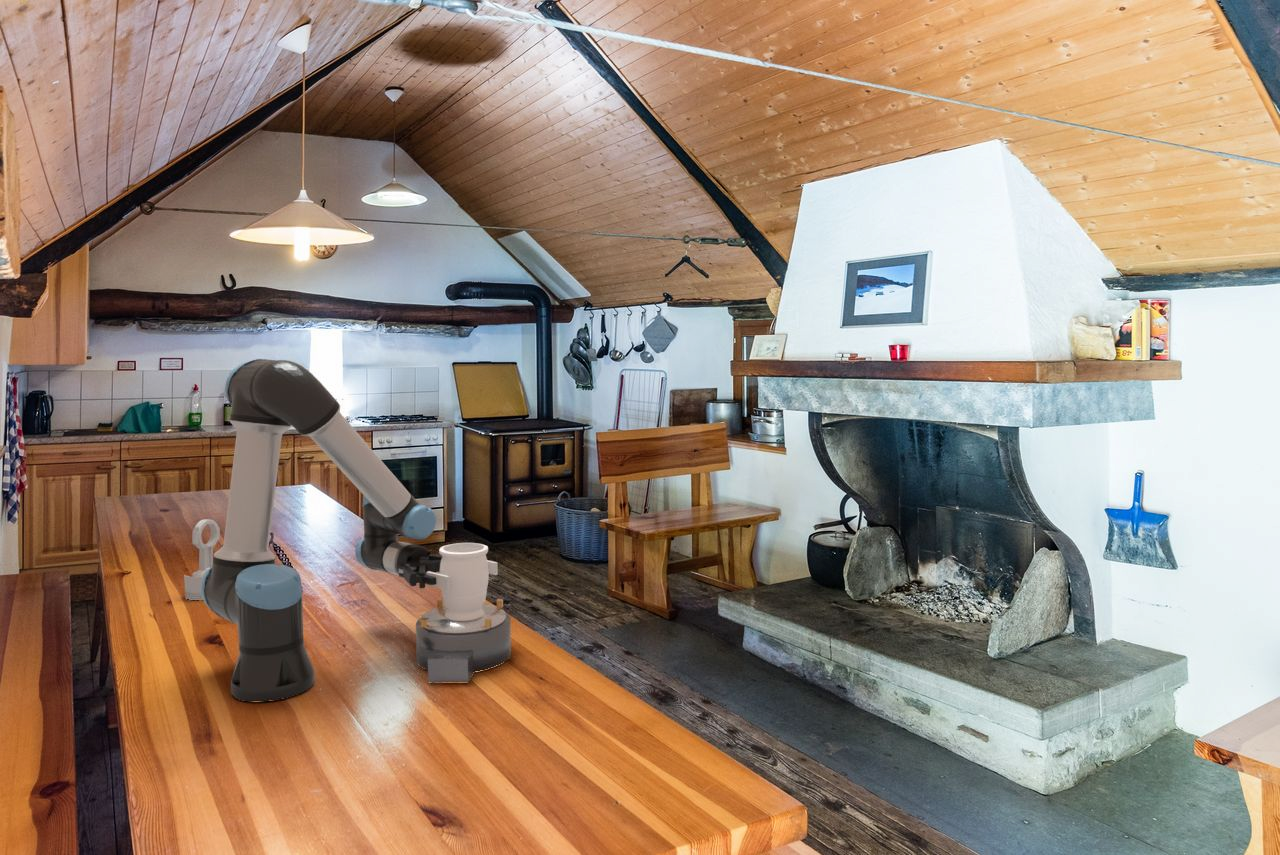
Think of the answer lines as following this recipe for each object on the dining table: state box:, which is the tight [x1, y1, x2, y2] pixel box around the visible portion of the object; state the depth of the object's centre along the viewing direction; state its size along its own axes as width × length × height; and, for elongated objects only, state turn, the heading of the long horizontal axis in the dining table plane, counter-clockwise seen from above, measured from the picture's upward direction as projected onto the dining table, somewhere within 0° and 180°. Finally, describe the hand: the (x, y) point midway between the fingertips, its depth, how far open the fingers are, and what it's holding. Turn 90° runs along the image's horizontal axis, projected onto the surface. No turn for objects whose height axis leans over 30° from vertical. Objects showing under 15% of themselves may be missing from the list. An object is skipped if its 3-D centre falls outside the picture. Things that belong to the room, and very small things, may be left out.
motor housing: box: [415, 598, 512, 683], centre depth 179 cm, size 24×20×11 cm
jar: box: [438, 542, 490, 621], centre depth 181 cm, size 11×10×15 cm
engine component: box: [183, 518, 221, 601], centre depth 225 cm, size 11×20×10 cm
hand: (473, 575), depth 178 cm, fingers open, 13 cm apart
